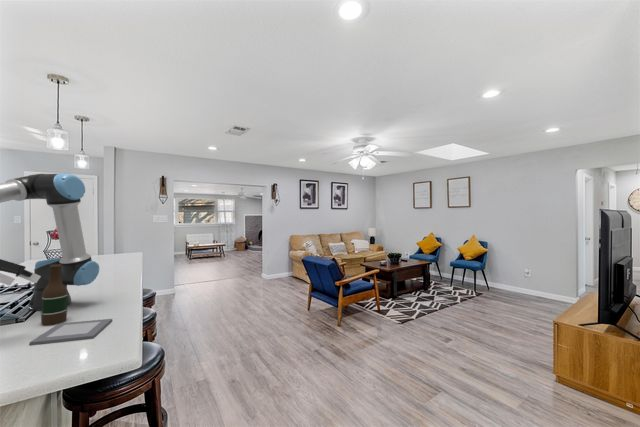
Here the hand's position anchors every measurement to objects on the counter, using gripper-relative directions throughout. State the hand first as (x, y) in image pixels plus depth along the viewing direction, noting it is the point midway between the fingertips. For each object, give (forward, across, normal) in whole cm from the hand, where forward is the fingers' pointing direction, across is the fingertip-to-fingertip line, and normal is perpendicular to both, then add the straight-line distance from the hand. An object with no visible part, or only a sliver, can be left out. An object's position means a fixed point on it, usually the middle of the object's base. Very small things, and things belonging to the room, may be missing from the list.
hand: (25, 280), depth 106 cm
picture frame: (+16, +17, -15) cm, 28 cm away
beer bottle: (+19, -1, -10) cm, 22 cm away
